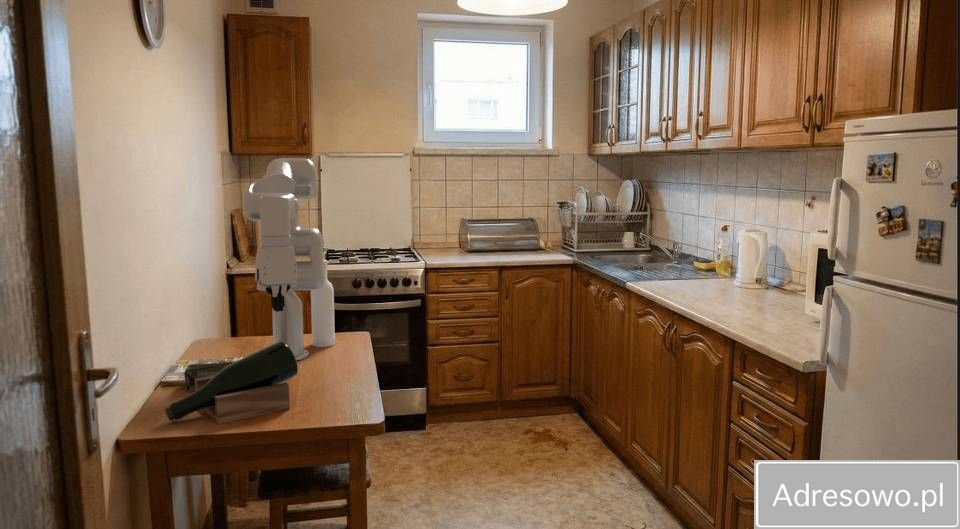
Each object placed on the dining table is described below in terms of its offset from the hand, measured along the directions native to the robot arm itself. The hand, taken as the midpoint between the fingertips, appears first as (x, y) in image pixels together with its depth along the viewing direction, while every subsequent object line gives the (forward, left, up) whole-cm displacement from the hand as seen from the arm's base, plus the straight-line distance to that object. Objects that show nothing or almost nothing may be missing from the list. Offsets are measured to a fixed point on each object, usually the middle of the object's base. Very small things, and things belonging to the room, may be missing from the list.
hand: (278, 310), depth 182 cm
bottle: (-45, +33, -24) cm, 61 cm away
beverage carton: (-20, -9, -25) cm, 33 cm away
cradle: (0, -11, -24) cm, 26 cm away
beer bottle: (+1, +3, -13) cm, 13 cm away
